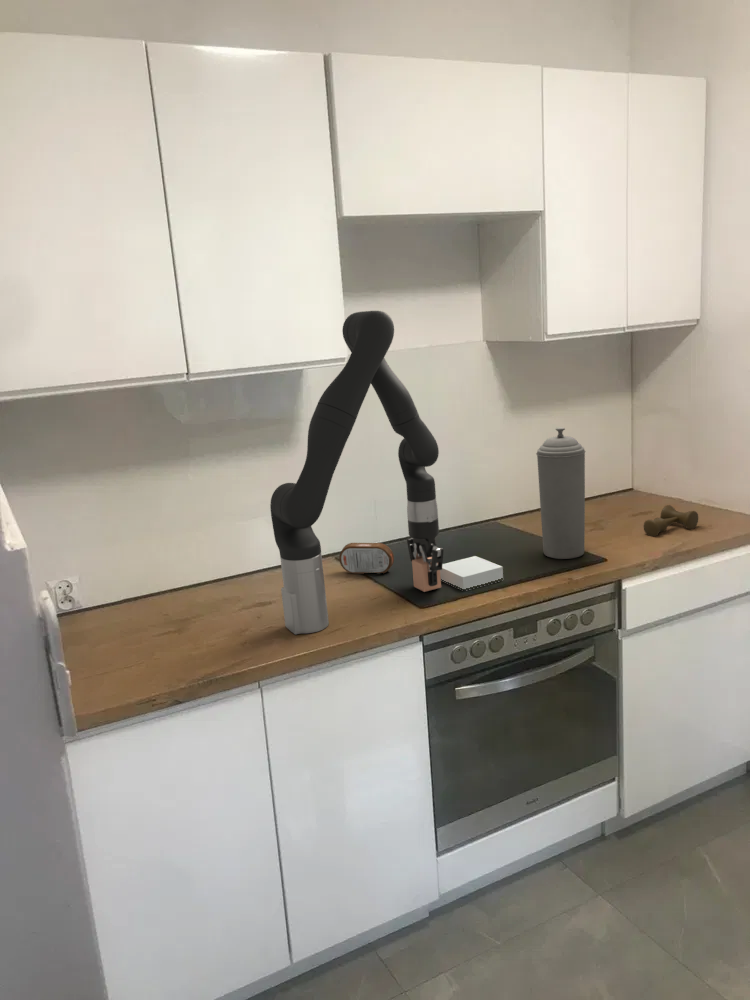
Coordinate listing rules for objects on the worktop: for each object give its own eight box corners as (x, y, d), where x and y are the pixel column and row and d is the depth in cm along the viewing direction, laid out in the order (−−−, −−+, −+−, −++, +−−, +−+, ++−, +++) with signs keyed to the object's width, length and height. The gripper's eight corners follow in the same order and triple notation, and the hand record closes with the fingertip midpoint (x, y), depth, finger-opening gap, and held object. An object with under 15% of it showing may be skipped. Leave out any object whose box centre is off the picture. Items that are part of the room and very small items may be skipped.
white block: (463, 592, 194) (463, 577, 193) (438, 580, 204) (437, 565, 203) (503, 581, 199) (502, 566, 198) (476, 570, 210) (475, 555, 209)
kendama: (635, 535, 228) (678, 519, 239) (664, 542, 221) (707, 525, 231) (635, 515, 227) (678, 500, 237) (664, 521, 219) (707, 505, 229)
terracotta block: (424, 591, 194) (422, 564, 192) (413, 586, 198) (411, 560, 197) (441, 587, 196) (439, 560, 194) (430, 582, 200) (428, 556, 199)
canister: (542, 547, 223) (537, 425, 215) (588, 547, 219) (585, 422, 211) (538, 561, 211) (533, 432, 203) (587, 561, 207) (584, 430, 200)
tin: (395, 571, 213) (393, 541, 211) (392, 575, 210) (390, 545, 208) (342, 571, 217) (340, 541, 216) (339, 574, 215) (336, 545, 213)
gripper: (395, 514, 198) (400, 578, 201) (424, 525, 185) (429, 593, 189) (420, 509, 201) (425, 572, 205) (451, 519, 188) (455, 586, 192)
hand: (427, 582), depth 197 cm, fingers closed on terracotta block, 5 cm apart
